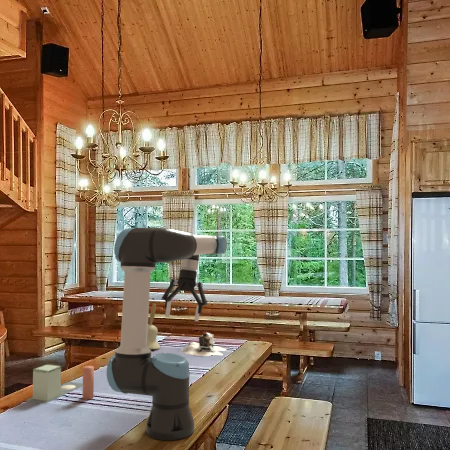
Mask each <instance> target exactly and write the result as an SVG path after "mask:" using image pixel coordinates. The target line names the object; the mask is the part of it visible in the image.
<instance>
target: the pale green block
mask: <svg viewBox="0 0 450 450" xmlns="http://www.w3.org/2000/svg"><path fill="white" fill-rule="evenodd" d="M61 380H62V366H61V365H54V364H44V365H41V366H38V367H35V368H33V369H32V398H33V399H37V400H43V401H49V400H51V399H53V398H56V397H58V396H60V395H61V385H62V384H61V383H62V382H61Z"/></svg>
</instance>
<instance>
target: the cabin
mask: <svg viewBox="0 0 450 450" xmlns="http://www.w3.org/2000/svg"><path fill="white" fill-rule="evenodd" d="M207 329H208V328H206V330H204V329H202V330H203V331H202V335H201V336H199V337H198V342H195V341H192V342H189V343H188V344H187V345H186V346H185V348H183V349H181V350H180V352H182V353H183V354H186V355H189V356H197V357H198V356H199V357H211V355H213V356H224V354H223V353H222V352H221V351H223V352H224V351H227V349H226V348H224V347H221V346H219V345H214V344H215V343H216V342H215V341H214V340H215V339H214V336H215V335H214V334H212V333H211V331H208V330H207ZM207 331H208V332H207Z"/></svg>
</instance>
